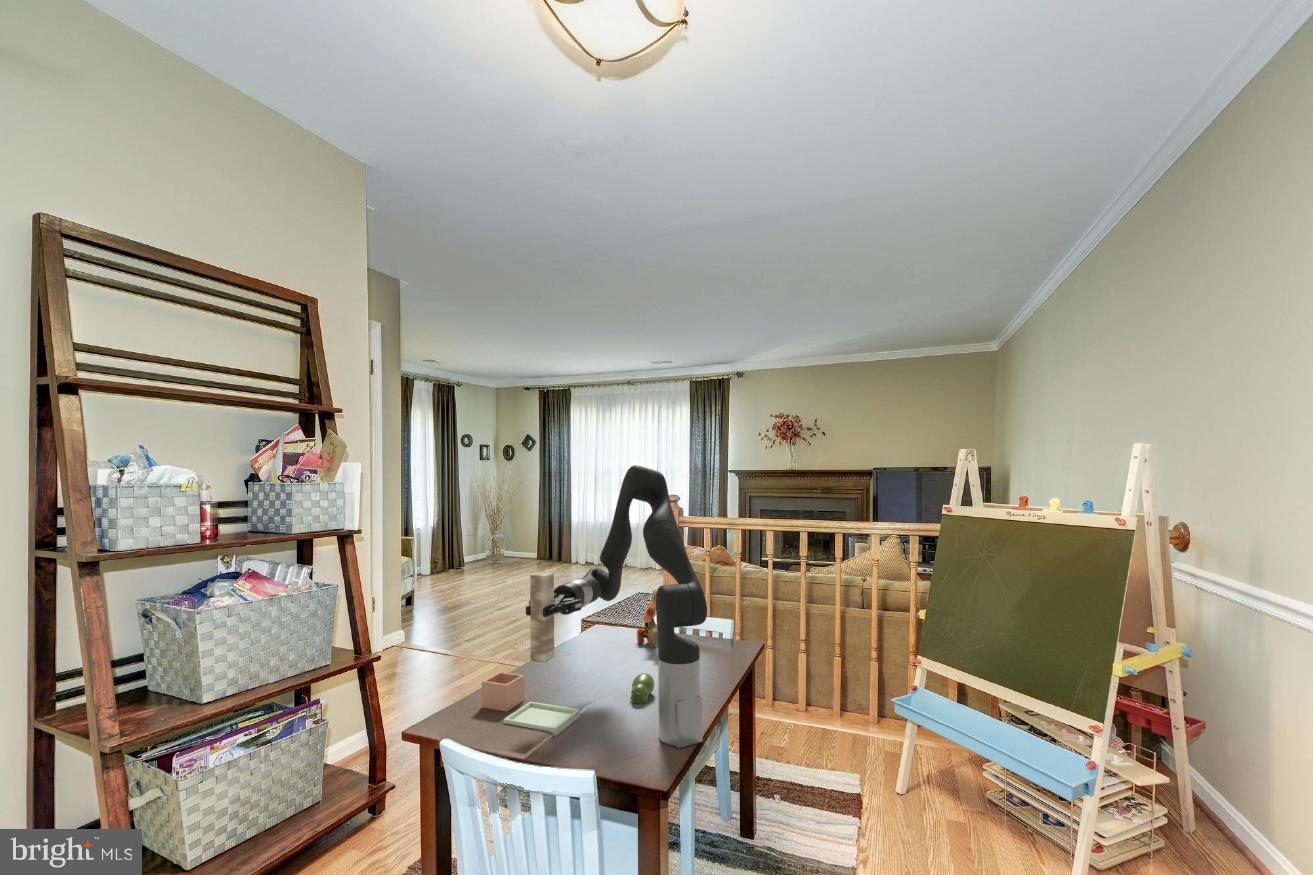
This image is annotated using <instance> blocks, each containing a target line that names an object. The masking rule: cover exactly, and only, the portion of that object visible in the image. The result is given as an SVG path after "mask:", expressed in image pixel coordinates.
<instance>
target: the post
mask: <svg viewBox="0 0 1313 875" xmlns="http://www.w3.org/2000/svg"><path fill="white" fill-rule="evenodd" d="M529 576H530V577H529V581H530V582H529V583H530V585H529V586H530V589H529V591H530V592H529V594H530V595H529V596H530V597H529V600H530V606H531V615H530V616H529V618H530V620H529V621H530V622H529V624H530V626H529V629H530V631H529V632H530V633H529V634H530V635H529V636H530V644H529V645H530V646H529V647H530V648H529V649H530V650H529V651H530V662H536V663H537V662H538V663H543V664H545V663H548V661H551V660H552V659H554V658H555V614H552V615H550V616H548V617H543V608H544V607H546V606H549V605H551V604H553V603H554V590H555V573H554V572H545V571H538V572H535V573H532V574H530V575H529Z"/></svg>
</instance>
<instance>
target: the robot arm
mask: <svg viewBox="0 0 1313 875" xmlns="http://www.w3.org/2000/svg"><path fill="white" fill-rule="evenodd" d="M633 500H637V501H641V502H644V503H647V504H649V506H650V509H651V513H650V514H649V516H648V517H647V519H646V521H645V523H644V525H643V529H642V535H643V539H644V543H645V548H646V551H647V553H648V555H649V557H650V558H651V559H652V561H653V562H655V564H657V565H658V566H660V567H661V569H663V570H664V571H665V572H667V573H668V574H669V575H670V576H671V577H672V578H673V579H674V580H675V581H676V583H674V584H663V585H661V586H660V585H659V587H657V591H656V593H655V602H656V609H655V611H656V616H655V617H656V628H657V640H658V646H657V653H658V654H657V656H658V658H657V659H658V660H657V664H658V666H657V668H658V673H657V674H658V676H657V677H658V680H657V683H658V738H659V740H660V741H661V742H662V743H664V744H666V745H670V746H674V747H676V748H677V749H680V748H684V747H688V746H691V745H695V744H699V743H703V737H704V736H703V698H702V697H701V658H700V657H701V654H700V653H701V652H700V651H701V650H700V646H699V644H698V643H697V642H695V641H693V640H691V639H689V638H688V639H687V638H684V637H683V636H682V637H681V636H679V635H677V634H676V632H675V628H682V627H683V628H684V627H685V628H686V627H695V626H700V625H702V624H704V623H705V622H706V620H707V617H708V603H707V599H706V595H705V593H704V589H703V587H702V585H701V583H700V580H699V579H698V576H697V575H696V571H695V570H694V568H693V565H692V564H691V561H690V558H689V556H688V553H687V550H686V547H685V543H684V541H683V540H684V539H683V536H682V534H681V530H680V527H679V525H678V523H677V520H676V518H675V514H674V511H673V507H672V504H671V501H670V500H671V498H670V495H669V488H668V484H667V481H666V478H665V476H664V474H663V473H662V472H660V471H657V470H654V469H652V468H648V467H645V466H642V465H637V464H634V465H633V464H632V465H631V466H630V467H629V468H628V469H627V471H626V473H625V474H624V477H623V480H622V484H621V487H620V491H619V495H618V498H617V503H616V507H615V510H614V515H613V518H612V523H611V526H610V530H609V532H608V534H607V535H608V536H607V538H606V540H605V543H604V545H603V548H602V550H601V553H600V555H599V560H600V561H599V562H601V564H602V565H603V566H604V567H605V568H606V569H607V571H608V572H607V571H606V570H604V569H603V568H600V567H592V568H590V569H589V570H588V571H587V572H586V574H585V575H584V576H582V577H581V578H579V579H575V580H574V579H573V580H570V581H567V582H566V583H565V582H564V583H562V584H559V585H558V586H556V587H554V603H553V604H551V605H549V606H546V607H544V608H543V617H548V616H550V615H552V614H554V616H556V615H559V614H560V615H563V616H564V615H565V616H568V615H571V614H573V613H575V612H579V611H582V609H583V608H585V607H586V606H587V605H589V604H592V603H594V602H595V601H596V600H598V599H599V598H600V599H602V600H603V601H606V602H610V601H612V600H614V599H616V597H617V596H618V594H619V592H620V590H621V585H622V575H623V568H624V563H625V561H626V559H627V556H628V555H629V551H630V549H631V545H632V541H633V534H632V527H631V522H630V521H631V520H630V509H631V505H632V503H633ZM525 615H526V616H529V617H530V615H531V606H530V599H529V600H528V605H527V606H525Z"/></svg>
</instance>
